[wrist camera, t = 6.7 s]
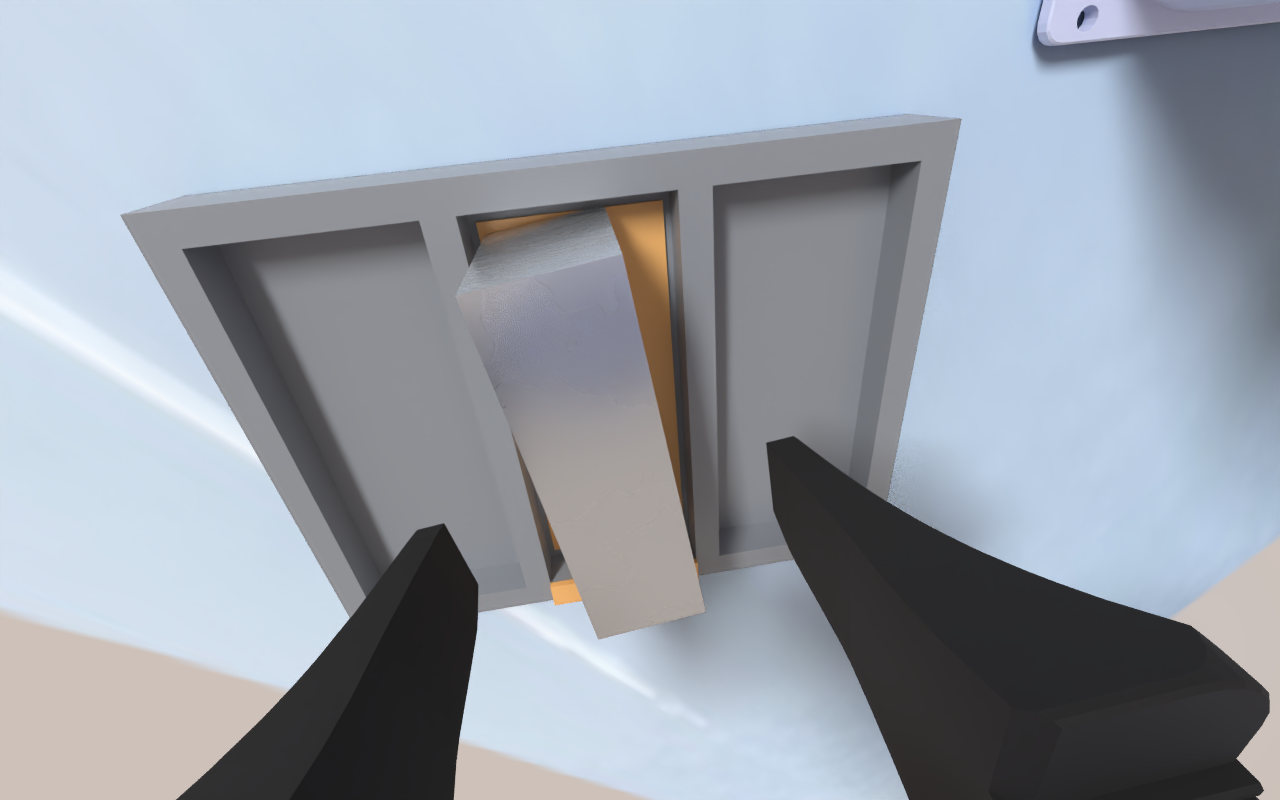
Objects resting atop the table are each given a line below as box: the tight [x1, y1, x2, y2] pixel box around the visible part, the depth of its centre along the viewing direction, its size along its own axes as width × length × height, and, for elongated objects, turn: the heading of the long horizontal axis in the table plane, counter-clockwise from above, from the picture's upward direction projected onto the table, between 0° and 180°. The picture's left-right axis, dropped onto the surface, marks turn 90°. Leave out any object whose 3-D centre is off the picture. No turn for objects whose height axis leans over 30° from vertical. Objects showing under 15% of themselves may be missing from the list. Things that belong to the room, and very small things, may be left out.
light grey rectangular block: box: [455, 204, 706, 639], centre depth 14 cm, size 3×10×4 cm, turn 12°
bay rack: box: [121, 114, 961, 618], centre depth 16 cm, size 18×14×2 cm
